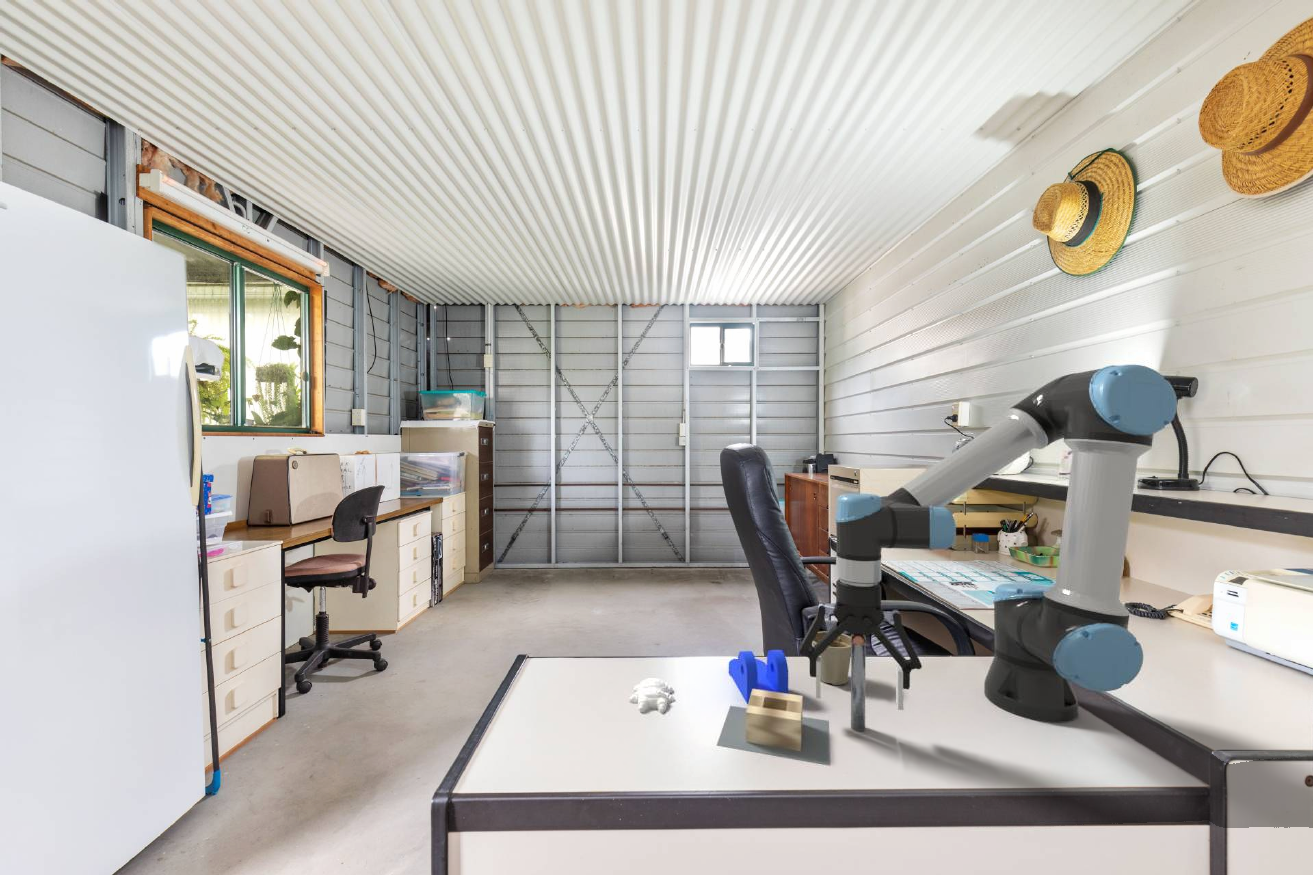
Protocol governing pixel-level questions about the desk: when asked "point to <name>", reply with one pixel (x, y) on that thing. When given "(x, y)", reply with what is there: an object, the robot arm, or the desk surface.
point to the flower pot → (835, 659)
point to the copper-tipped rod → (858, 682)
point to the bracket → (759, 673)
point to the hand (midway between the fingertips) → (858, 700)
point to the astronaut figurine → (652, 695)
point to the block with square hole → (774, 719)
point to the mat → (811, 747)
